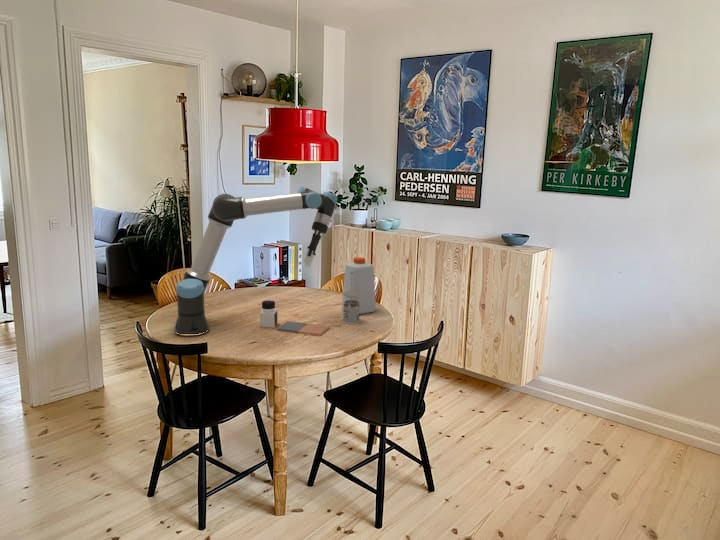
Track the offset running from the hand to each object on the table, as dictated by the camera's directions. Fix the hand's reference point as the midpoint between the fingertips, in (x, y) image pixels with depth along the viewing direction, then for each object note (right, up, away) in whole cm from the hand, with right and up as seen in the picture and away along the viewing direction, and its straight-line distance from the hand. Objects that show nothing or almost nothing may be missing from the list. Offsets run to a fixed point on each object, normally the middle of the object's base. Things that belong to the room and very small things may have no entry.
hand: (306, 264), depth 261 cm
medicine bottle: (-18, -29, -1) cm, 34 cm away
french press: (+21, -28, +8) cm, 36 cm away
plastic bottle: (+25, -24, +25) cm, 43 cm away
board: (-1, -30, -7) cm, 31 cm away
